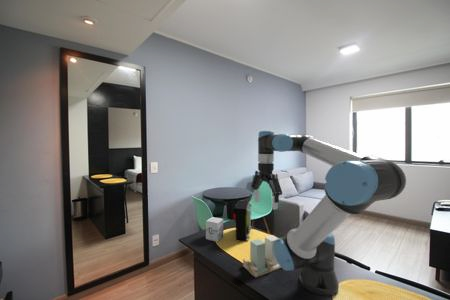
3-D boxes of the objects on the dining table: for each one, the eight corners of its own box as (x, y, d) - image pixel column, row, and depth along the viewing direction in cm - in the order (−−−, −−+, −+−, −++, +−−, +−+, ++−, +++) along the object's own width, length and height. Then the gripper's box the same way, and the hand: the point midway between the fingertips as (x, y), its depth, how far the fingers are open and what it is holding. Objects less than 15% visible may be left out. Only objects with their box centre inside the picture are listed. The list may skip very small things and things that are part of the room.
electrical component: (249, 241, 126) (249, 209, 126) (232, 240, 128) (233, 208, 128) (251, 229, 144) (251, 201, 143) (236, 228, 146) (237, 200, 145)
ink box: (212, 233, 137) (212, 216, 137) (223, 236, 134) (223, 218, 133) (205, 239, 130) (205, 220, 129) (217, 242, 126) (217, 223, 125)
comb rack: (286, 265, 102) (286, 258, 101) (255, 277, 92) (255, 269, 92) (272, 256, 110) (272, 249, 110) (243, 266, 101) (243, 258, 101)
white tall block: (279, 262, 103) (279, 238, 102) (271, 265, 100) (271, 241, 100) (272, 257, 107) (272, 235, 106) (264, 260, 104) (264, 237, 104)
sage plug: (265, 267, 98) (265, 243, 98) (256, 271, 96) (256, 245, 95) (258, 262, 103) (258, 238, 102) (250, 265, 100) (250, 241, 100)
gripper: (290, 164, 93) (290, 211, 94) (256, 160, 115) (255, 198, 115) (278, 165, 89) (277, 213, 90) (244, 160, 111) (244, 200, 112)
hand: (265, 205), depth 103 cm, fingers open, 13 cm apart
